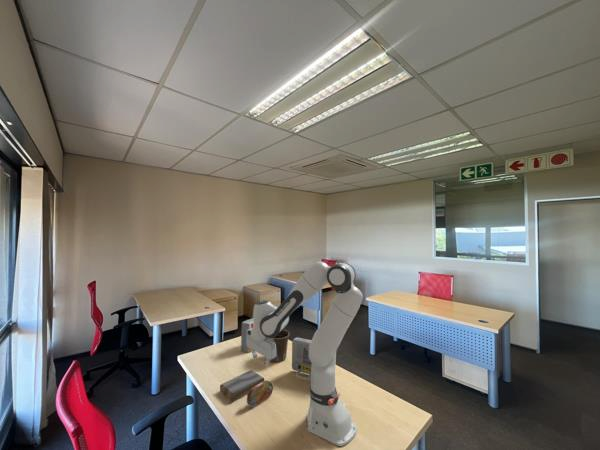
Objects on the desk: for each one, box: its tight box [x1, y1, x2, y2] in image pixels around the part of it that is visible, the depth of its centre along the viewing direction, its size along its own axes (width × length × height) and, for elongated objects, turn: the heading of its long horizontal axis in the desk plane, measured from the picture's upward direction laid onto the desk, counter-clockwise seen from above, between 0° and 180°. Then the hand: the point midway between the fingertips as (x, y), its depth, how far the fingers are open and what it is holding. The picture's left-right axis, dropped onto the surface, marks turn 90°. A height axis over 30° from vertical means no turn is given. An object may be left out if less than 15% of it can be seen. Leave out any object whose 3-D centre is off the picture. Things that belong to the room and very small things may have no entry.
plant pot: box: [269, 329, 290, 363], centre depth 167 cm, size 16×16×16 cm
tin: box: [246, 379, 274, 408], centre depth 123 cm, size 15×3×8 cm, turn 138°
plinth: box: [219, 369, 265, 403], centre depth 134 cm, size 12×20×4 cm, turn 137°
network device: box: [291, 337, 312, 382], centre depth 145 cm, size 26×9×20 cm, turn 65°
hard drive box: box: [240, 317, 254, 353], centre depth 181 cm, size 16×8×20 cm, turn 147°
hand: (260, 361), depth 124 cm, fingers open, 8 cm apart
